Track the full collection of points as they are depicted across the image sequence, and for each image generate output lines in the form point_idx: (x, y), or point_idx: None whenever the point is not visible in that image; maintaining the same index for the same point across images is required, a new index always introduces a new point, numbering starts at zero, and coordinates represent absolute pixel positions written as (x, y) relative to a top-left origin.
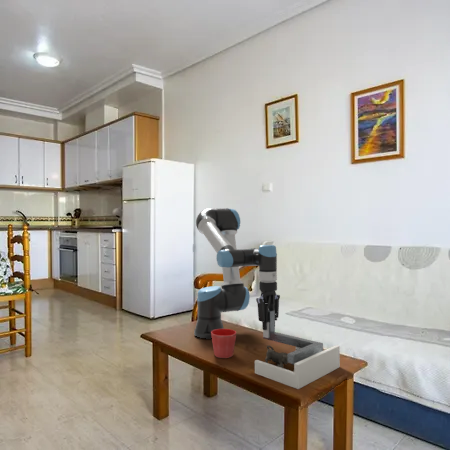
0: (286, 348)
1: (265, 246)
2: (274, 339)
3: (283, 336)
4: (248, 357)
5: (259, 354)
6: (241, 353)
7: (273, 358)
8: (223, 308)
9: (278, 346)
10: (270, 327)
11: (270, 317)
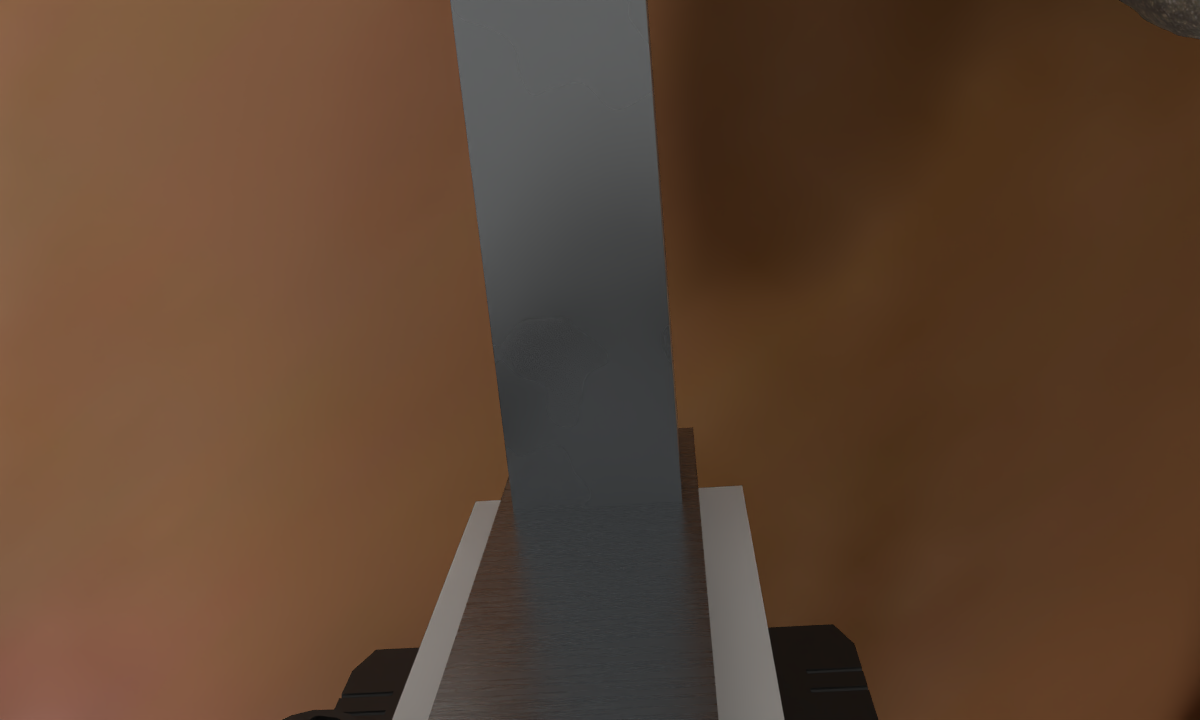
0: (225, 360)
1: None
2: (671, 335)
3: (646, 37)
4: (1104, 479)
5: (844, 460)
6: (1032, 686)
7: None
8: None
9: (268, 524)
10: (700, 581)
11: None
